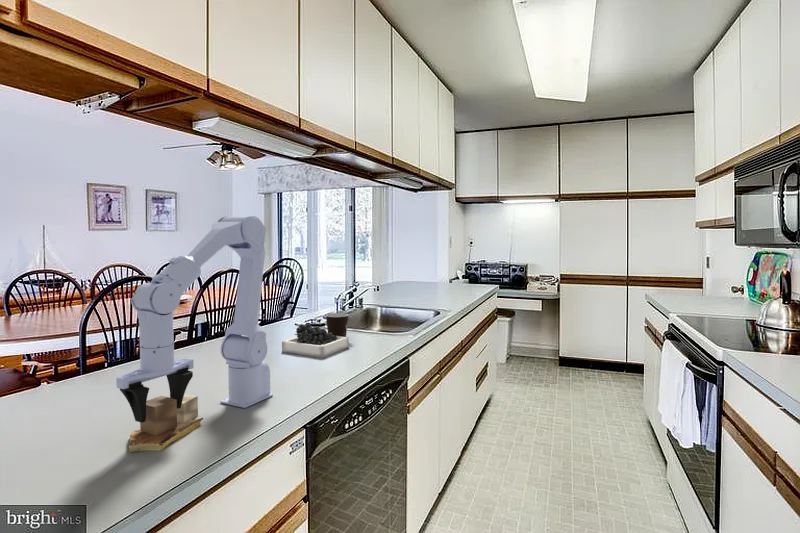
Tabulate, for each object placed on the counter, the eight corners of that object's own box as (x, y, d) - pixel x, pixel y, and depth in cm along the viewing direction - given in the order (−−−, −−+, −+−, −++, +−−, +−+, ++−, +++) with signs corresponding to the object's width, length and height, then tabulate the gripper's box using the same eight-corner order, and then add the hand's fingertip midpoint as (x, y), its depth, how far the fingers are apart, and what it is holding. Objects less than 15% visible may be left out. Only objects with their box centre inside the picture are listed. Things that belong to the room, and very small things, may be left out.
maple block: (180, 414, 96) (179, 394, 96) (198, 415, 96) (197, 395, 95) (165, 422, 92) (164, 401, 92) (184, 424, 91) (183, 403, 91)
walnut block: (162, 422, 88) (161, 395, 88) (177, 426, 86) (176, 399, 86) (140, 430, 84) (139, 403, 84) (155, 435, 82) (154, 407, 82)
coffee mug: (341, 344, 162) (341, 317, 161) (321, 342, 165) (321, 316, 165) (355, 337, 173) (355, 312, 172) (336, 336, 176) (336, 311, 175)
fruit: (336, 319, 158) (294, 320, 154) (340, 330, 151) (295, 332, 147) (334, 339, 161) (293, 341, 157) (338, 352, 154) (294, 354, 150)
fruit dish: (310, 342, 165) (310, 332, 165) (348, 347, 158) (348, 337, 157) (282, 351, 151) (281, 341, 151) (322, 357, 143) (322, 346, 143)
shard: (203, 425, 92) (203, 415, 91) (209, 443, 84) (208, 432, 83) (130, 440, 85) (129, 429, 85) (128, 460, 77) (128, 448, 77)
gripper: (176, 335, 92) (178, 398, 93) (105, 351, 79) (107, 424, 80) (200, 339, 89) (201, 404, 90) (129, 355, 76) (131, 431, 77)
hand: (158, 414), depth 85 cm, fingers open, 7 cm apart
